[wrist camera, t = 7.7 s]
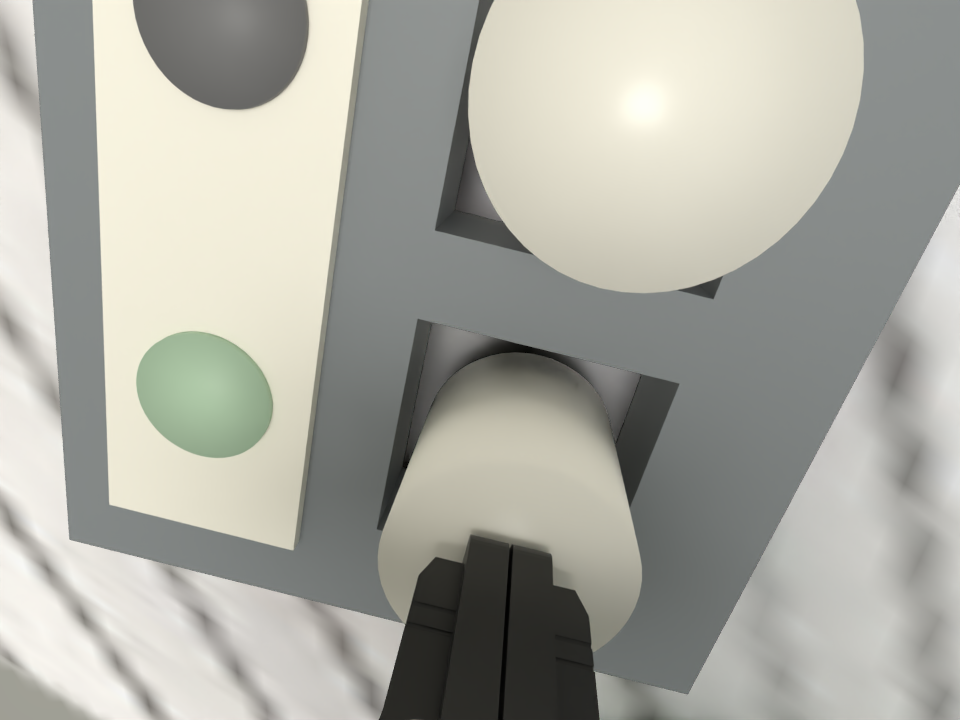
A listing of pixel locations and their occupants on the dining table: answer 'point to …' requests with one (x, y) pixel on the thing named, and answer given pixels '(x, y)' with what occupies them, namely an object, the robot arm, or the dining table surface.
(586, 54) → the button
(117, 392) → the strip
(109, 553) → the dining table surface
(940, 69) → the button board
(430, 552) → the button
